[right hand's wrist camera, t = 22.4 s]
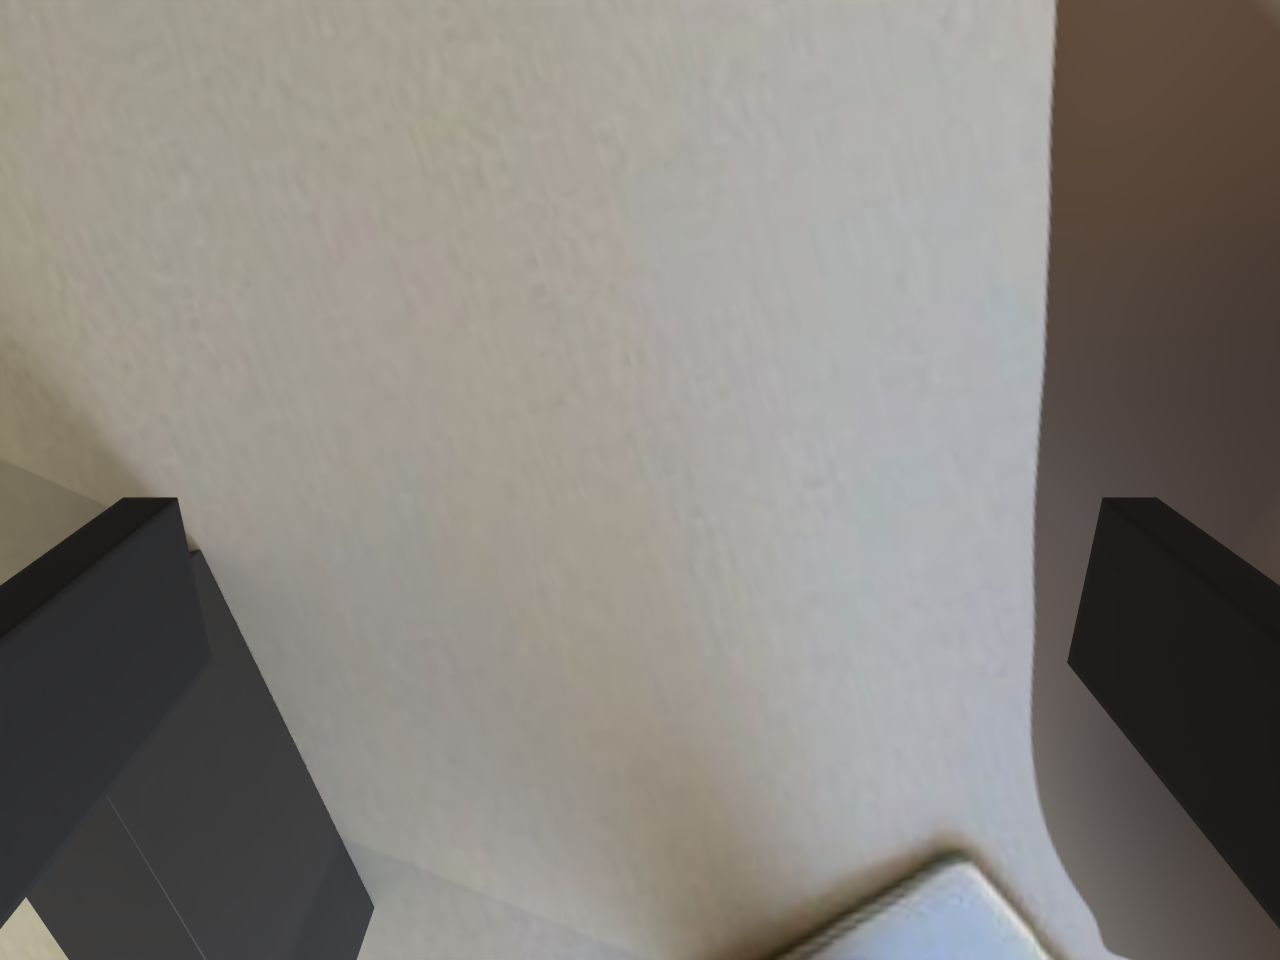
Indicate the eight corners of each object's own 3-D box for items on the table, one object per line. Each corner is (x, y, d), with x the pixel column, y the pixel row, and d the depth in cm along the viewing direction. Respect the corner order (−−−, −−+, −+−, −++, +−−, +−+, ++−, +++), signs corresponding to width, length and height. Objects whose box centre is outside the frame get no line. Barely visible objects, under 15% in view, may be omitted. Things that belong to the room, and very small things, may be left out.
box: (96, 573, 47) (-92, 727, 35) (200, 549, 47) (46, 696, 35) (286, 924, 57) (190, 1139, 45) (374, 907, 56) (302, 1120, 44)
